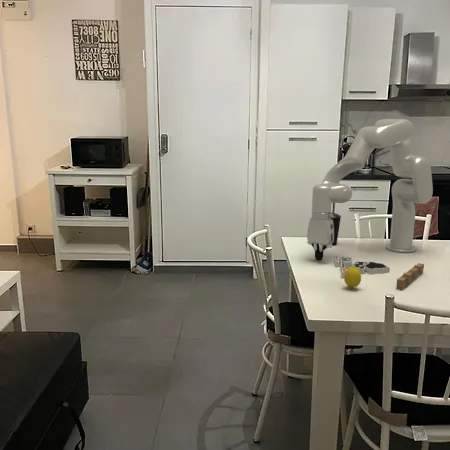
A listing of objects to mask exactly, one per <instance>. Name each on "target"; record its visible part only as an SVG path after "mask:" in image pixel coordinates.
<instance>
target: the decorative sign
mask: <svg viewBox="0 0 450 450" xmlns="http://www.w3.org/2000/svg"><path fill="white" fill-rule="evenodd" d="M334 264H335V265H334V266H335V268H340V274H341V279H343V280H344V275H345V272H346V270H347V269H348V268H350V267H352V266H354V267H356V268H357V269H358V270H359V271H360V273H361V275H365V274H368V275H370V276H371V275H372V276H373V275H377V274H379V275H380V274H381V275H382V274H389V273H390V266H388V265H386V264H384V263H383V262H375V261H354V260H353V258H352V257H349V256H347V257H345V256H340V257H339V256H334Z"/></svg>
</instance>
